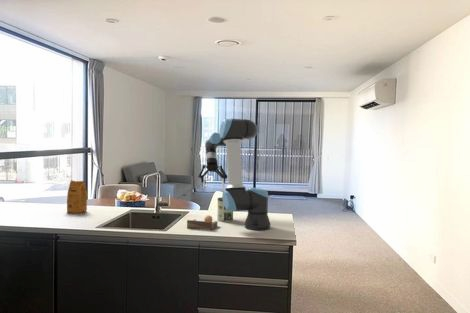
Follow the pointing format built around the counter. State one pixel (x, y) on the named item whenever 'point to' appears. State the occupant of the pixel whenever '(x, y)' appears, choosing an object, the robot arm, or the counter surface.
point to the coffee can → (224, 212)
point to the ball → (208, 218)
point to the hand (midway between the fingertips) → (213, 187)
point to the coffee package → (77, 197)
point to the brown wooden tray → (201, 225)
